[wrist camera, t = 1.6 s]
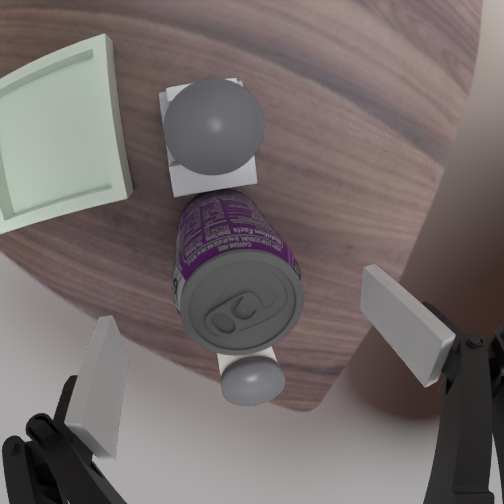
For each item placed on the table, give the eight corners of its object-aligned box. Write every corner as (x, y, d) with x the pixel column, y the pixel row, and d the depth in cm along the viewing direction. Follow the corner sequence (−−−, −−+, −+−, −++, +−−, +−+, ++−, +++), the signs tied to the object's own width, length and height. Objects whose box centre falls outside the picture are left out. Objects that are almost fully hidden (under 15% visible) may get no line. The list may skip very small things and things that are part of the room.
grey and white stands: (159, 93, 19) (135, 69, 11) (241, 82, 20) (274, 52, 11) (208, 341, 30) (219, 419, 21) (268, 329, 30) (297, 403, 21)
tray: (-10, 94, 15) (-24, 93, 13) (113, 41, 17) (105, 33, 14) (13, 224, 21) (0, 234, 18) (133, 191, 22) (127, 198, 20)
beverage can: (213, 280, 27) (231, 379, 16) (160, 224, 24) (139, 304, 13) (276, 233, 26) (334, 310, 15) (228, 169, 23) (261, 209, 12)
